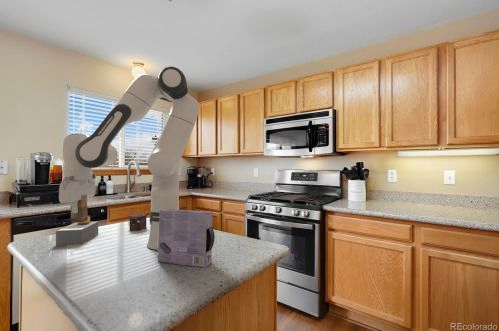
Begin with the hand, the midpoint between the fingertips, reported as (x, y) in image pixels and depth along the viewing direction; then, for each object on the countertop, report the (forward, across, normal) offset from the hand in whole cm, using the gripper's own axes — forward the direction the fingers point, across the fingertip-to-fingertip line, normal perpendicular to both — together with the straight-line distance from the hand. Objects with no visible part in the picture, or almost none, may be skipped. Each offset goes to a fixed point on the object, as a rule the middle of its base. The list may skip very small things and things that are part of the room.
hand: (79, 211), depth 96 cm
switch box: (+15, +18, +9) cm, 25 cm away
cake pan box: (+17, -20, -41) cm, 49 cm away
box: (+16, +31, -13) cm, 37 cm away
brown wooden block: (+4, 0, 0) cm, 4 cm away
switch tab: (+9, +23, +9) cm, 26 cm away
